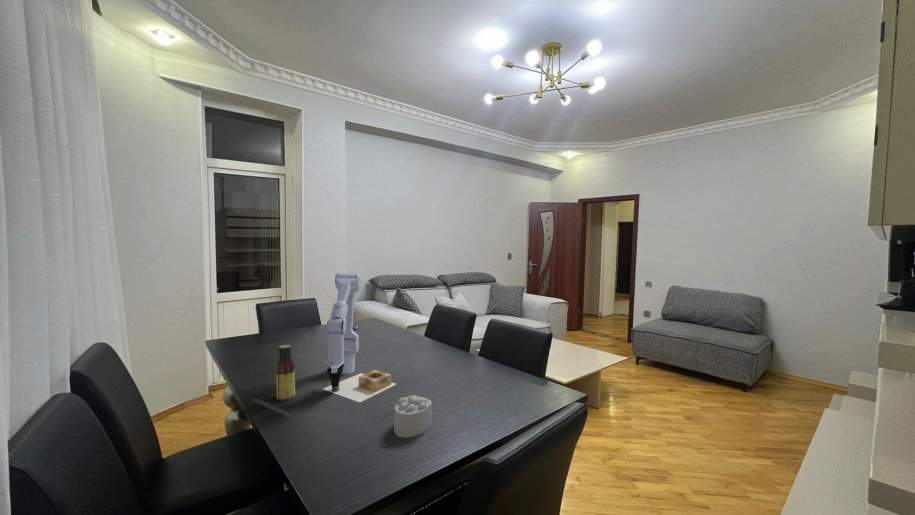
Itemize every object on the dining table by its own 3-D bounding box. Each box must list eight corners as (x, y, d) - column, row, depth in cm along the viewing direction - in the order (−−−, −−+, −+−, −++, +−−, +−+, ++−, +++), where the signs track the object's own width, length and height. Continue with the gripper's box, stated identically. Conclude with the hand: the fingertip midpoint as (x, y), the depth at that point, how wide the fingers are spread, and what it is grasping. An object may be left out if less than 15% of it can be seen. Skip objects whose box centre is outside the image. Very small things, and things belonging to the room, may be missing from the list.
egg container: (435, 421, 119) (435, 396, 119) (414, 441, 108) (415, 413, 107) (408, 414, 124) (408, 389, 123) (385, 432, 112) (386, 405, 111)
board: (322, 391, 139) (322, 388, 139) (360, 375, 156) (361, 373, 156) (359, 405, 129) (359, 402, 129) (396, 386, 146) (396, 384, 146)
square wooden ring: (358, 386, 142) (358, 376, 142) (374, 379, 150) (375, 369, 150) (375, 392, 138) (375, 381, 137) (391, 384, 145) (391, 374, 145)
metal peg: (330, 390, 138) (330, 369, 137) (335, 387, 140) (336, 367, 140) (335, 392, 136) (335, 371, 136) (340, 389, 139) (341, 369, 138)
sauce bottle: (299, 398, 133) (299, 345, 132) (284, 405, 127) (285, 349, 126) (286, 394, 136) (286, 342, 134) (271, 401, 130) (272, 347, 129)
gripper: (327, 344, 143) (326, 378, 144) (322, 356, 129) (322, 393, 130) (345, 343, 145) (345, 377, 146) (343, 355, 131) (342, 392, 132)
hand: (335, 384), depth 138 cm, fingers closed on metal peg, 3 cm apart
